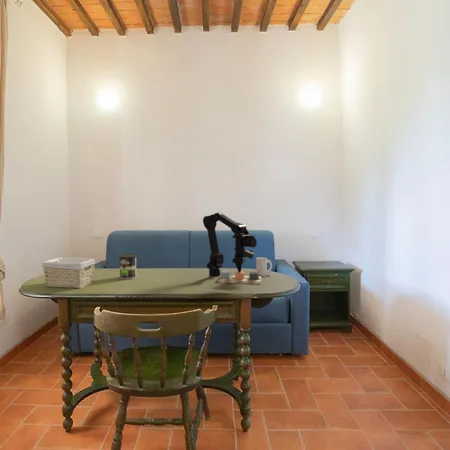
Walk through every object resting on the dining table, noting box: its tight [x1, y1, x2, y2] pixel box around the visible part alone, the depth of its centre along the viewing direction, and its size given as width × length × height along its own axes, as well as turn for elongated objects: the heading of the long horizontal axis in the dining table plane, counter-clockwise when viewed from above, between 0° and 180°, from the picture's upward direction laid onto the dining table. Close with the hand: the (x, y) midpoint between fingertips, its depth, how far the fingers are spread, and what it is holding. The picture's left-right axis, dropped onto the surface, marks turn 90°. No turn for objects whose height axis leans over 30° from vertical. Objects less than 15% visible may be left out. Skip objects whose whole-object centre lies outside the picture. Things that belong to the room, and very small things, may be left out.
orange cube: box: [234, 270, 245, 279], centre depth 192 cm, size 5×5×5 cm
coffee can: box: [119, 253, 137, 280], centre depth 205 cm, size 10×10×14 cm
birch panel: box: [216, 274, 263, 285], centre depth 192 cm, size 25×12×3 cm, turn 80°
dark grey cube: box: [249, 271, 259, 280], centre depth 190 cm, size 5×5×5 cm
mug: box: [255, 256, 273, 277], centre depth 207 cm, size 10×7×12 cm, turn 91°
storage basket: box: [41, 256, 96, 289], centre depth 187 cm, size 24×16×15 cm
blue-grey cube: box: [221, 270, 231, 279], centre depth 193 cm, size 5×5×5 cm
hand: (239, 272), depth 192 cm, fingers closed
